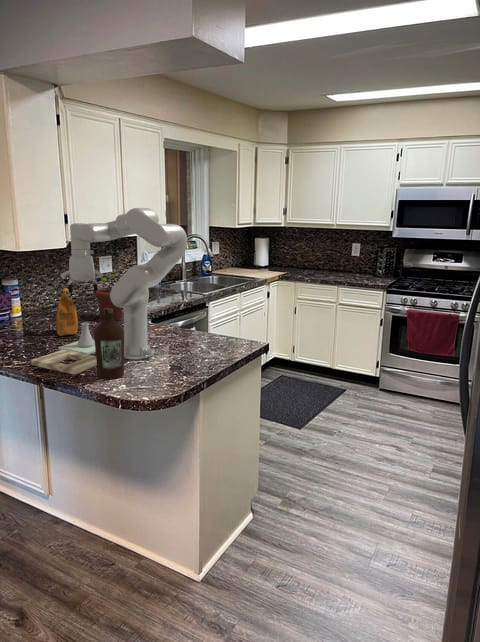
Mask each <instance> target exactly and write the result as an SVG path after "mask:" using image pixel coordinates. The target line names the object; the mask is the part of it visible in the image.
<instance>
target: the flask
mask: <svg viewBox="0 0 480 642" xmlns="http://www.w3.org/2000/svg"><path fill="white" fill-rule="evenodd" d="M80 325H81V333H80V334H79V339H78V344H77V345H78V346H79V347H91V346H94V345H95V343H94V341H93V340H94V339H93V337H92V335H91V332H90V329H89V328H90V326H89V325H90V323H89V322H82V323H81V324H80Z"/></svg>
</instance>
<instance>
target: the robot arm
mask: <svg viewBox="0 0 480 642" xmlns="http://www.w3.org/2000/svg"><path fill="white" fill-rule="evenodd" d="M159 220H160V219H159V215H158V213H157V212H156V211H155V210H153V209H151V208H149V207H134V208H133V207H132V208H131V209H129V210H128V211H127V212H126V213H122V214H119V215H117V217H116V218H115V220H112V221H108V222H103V223H102V222H99V223H98V222H95V223H93V222H92V223H83V222H81V223H79V222H78V223H76V222H75V223H71V224H70V226H69V232H70V249H71V256H69V263H68V267H69V268H68V270H66V271H65V272H63V273H60V277H61V279H62V280H63V282H64V283H66V285H67V287H68V288H67V289H68V292H69V294H70V295H73V286H72V285H73V284H72V283H73V282H74V281H92V282H93V293H94V294H95V295H96V291H97V290H98V284H99V283H100V282H101V281H102V280H101V279H102V278H104V273H103V272H101V271H99V270H96V269H95V263H94V258H93V256H91V255H93V254H95V250H92V249H91V243H98V242H100V243H101V242H107V241H108V242H109V241H114V240H118V239H122V238H125V237H127V236H131V235H137V236H138V237H140V239H142V240H144V242H145V241H146V242H147V243H149V244H150V245H152V246H153V247H156V248H160V249H159V250H158V251H157V252H156V253H154V255H153V256H152V257H151V258H150V260H149V259H148V261H147V262H145V263H142V264H138V265H133V266H132V267H130V268H129V269H128V270H126V272H125V273H124V274H123V275H122V276H121V277H120V278H119V279H118V280H117V282H116V283H115V284H114V285H113V286H112V290H111V293H110V298H111V301H112V303H113V304H114V305H115V306H117V307H120V308H122V309H123V331H124V335H125V337H124V360H125V359H126V360H143V359H147V358H150V357H151V356H154V354H155V351H156V350H155V348H154V349H153V348H151V344H149V343H148V342H149V341H148V338H149V337H148V305H149V304H148V303H149V297H150V291H149V289H150V288H153V287H156V286H158V284H159V283H160V282H161V281H162V280H163V279H164V278H165V277H166V276H167V274H169V272H170V271H171V270H172V269H174V267H175V266H176V265H177V263H179V262H180V261H181V259H182V257H183V256H184V255H185V253H186V250H187V247H188V236H187V232H186V231H185V229H184V228H183V227H182V226H180V225H178V224H176V223H159ZM67 275H69V280H68V279H67V278H66V276H67ZM96 275H99V276H98V278H96V277H95V276H96ZM124 307H125V308H124Z"/></svg>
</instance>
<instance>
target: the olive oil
mask: <svg viewBox="0 0 480 642" xmlns="http://www.w3.org/2000/svg"><path fill="white" fill-rule="evenodd" d="M124 337H125V335H124V327H122V326H121V325H120V324H119V323H118V321H115V320H114V319H113V309H112V308H106V309H104V320H103V321H102V322H99V324H98V325H97V327H96V328H95V330H94V334H93V338H94V339H93V340H94V341H95V350H96V352H95V356H96V360H97V366H96V369H97V371H96V372H97V377H98V378H99V379H101V380H116V379H117V380H118V379H120V378H122V377H123V376H124V375H125V358H124V351H125V344H124Z"/></svg>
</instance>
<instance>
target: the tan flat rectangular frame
mask: <svg viewBox="0 0 480 642" xmlns="http://www.w3.org/2000/svg"><path fill="white" fill-rule="evenodd" d="M65 360H74V362H72V363H69V364H68V363H62V361H65ZM31 366H34V367H39V368H43V369H48V370H52V371H57V372H61V373H66V374H68V375H69V374H71V375H76V374H77V375H78V374H79V373H82V372H85V371H86V370H87V371H88V370H89V369H92V368H95V367H97V360H96V355H91V354H88V355H87V354H82V353H77V352H72V351H67V350H58V351H56V352H52V353H49V354H47V355H43V356H40V357H36V358H33V359H31Z"/></svg>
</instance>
